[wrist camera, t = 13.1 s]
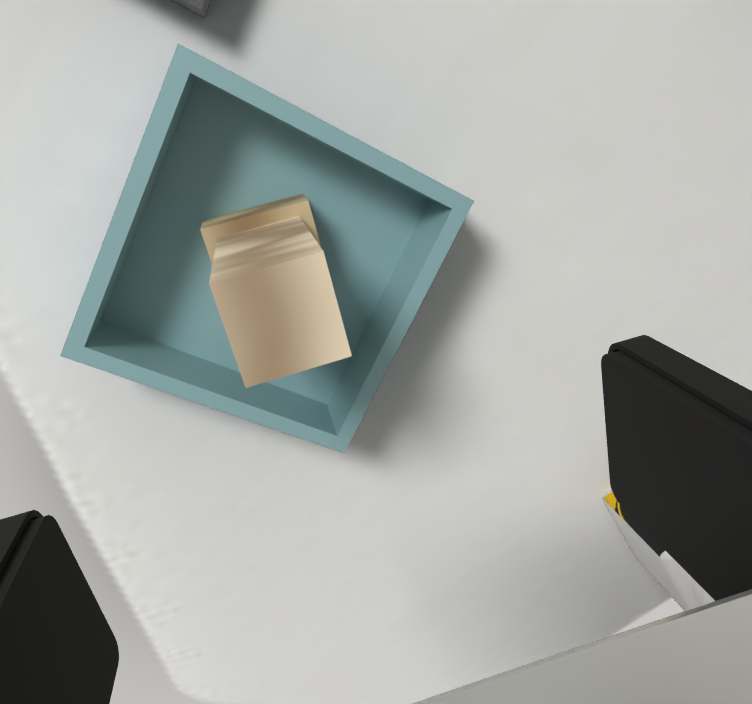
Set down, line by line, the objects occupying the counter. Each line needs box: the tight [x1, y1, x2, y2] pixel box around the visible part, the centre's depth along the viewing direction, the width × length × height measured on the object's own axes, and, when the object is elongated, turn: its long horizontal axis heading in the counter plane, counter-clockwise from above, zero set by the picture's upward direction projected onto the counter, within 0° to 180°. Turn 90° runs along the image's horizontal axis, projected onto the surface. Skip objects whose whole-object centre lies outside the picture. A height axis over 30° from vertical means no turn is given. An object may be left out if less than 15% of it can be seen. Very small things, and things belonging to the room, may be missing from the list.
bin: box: [60, 44, 474, 453], centre depth 32 cm, size 15×15×5 cm
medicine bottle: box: [603, 490, 715, 611], centre depth 40 cm, size 7×7×12 cm
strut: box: [200, 194, 352, 388], centre depth 27 cm, size 5×5×12 cm
